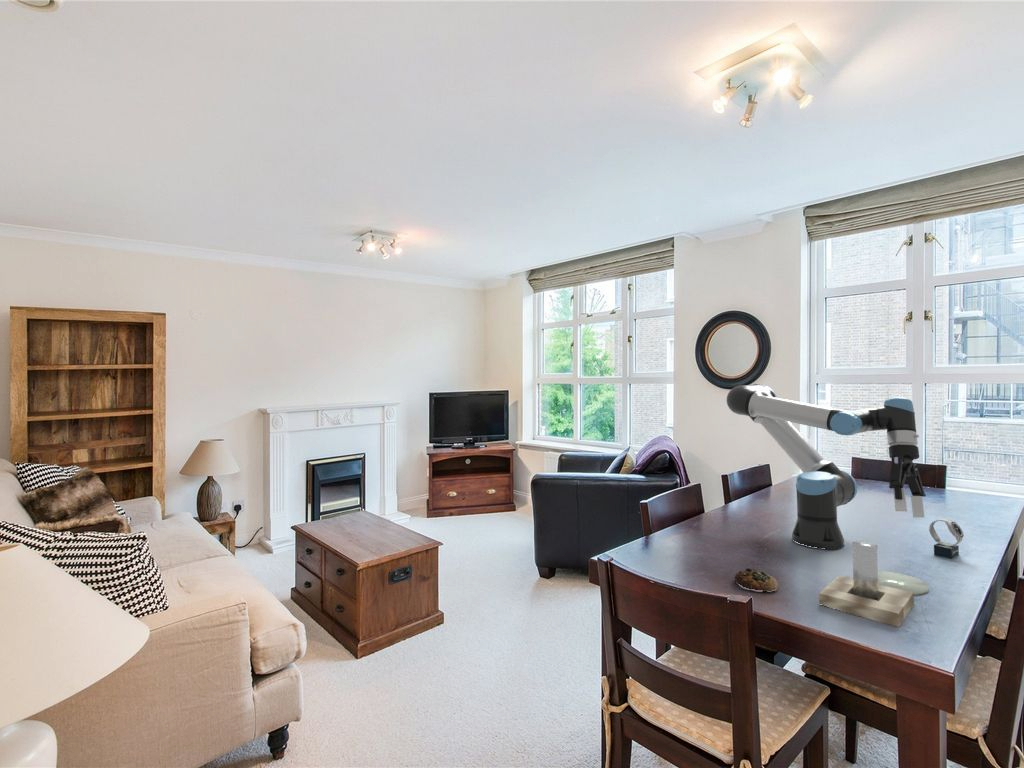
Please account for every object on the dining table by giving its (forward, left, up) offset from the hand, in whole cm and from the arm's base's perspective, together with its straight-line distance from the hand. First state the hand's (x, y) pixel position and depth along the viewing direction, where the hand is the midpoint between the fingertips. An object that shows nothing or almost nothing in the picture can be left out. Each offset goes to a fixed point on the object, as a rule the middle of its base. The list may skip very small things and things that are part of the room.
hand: (910, 514), depth 154 cm
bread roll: (-25, -51, -14) cm, 59 cm away
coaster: (+1, -25, -14) cm, 29 cm away
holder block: (-1, -45, -14) cm, 47 cm away
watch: (+7, +12, -14) cm, 19 cm away
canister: (-1, -45, -14) cm, 48 cm away
